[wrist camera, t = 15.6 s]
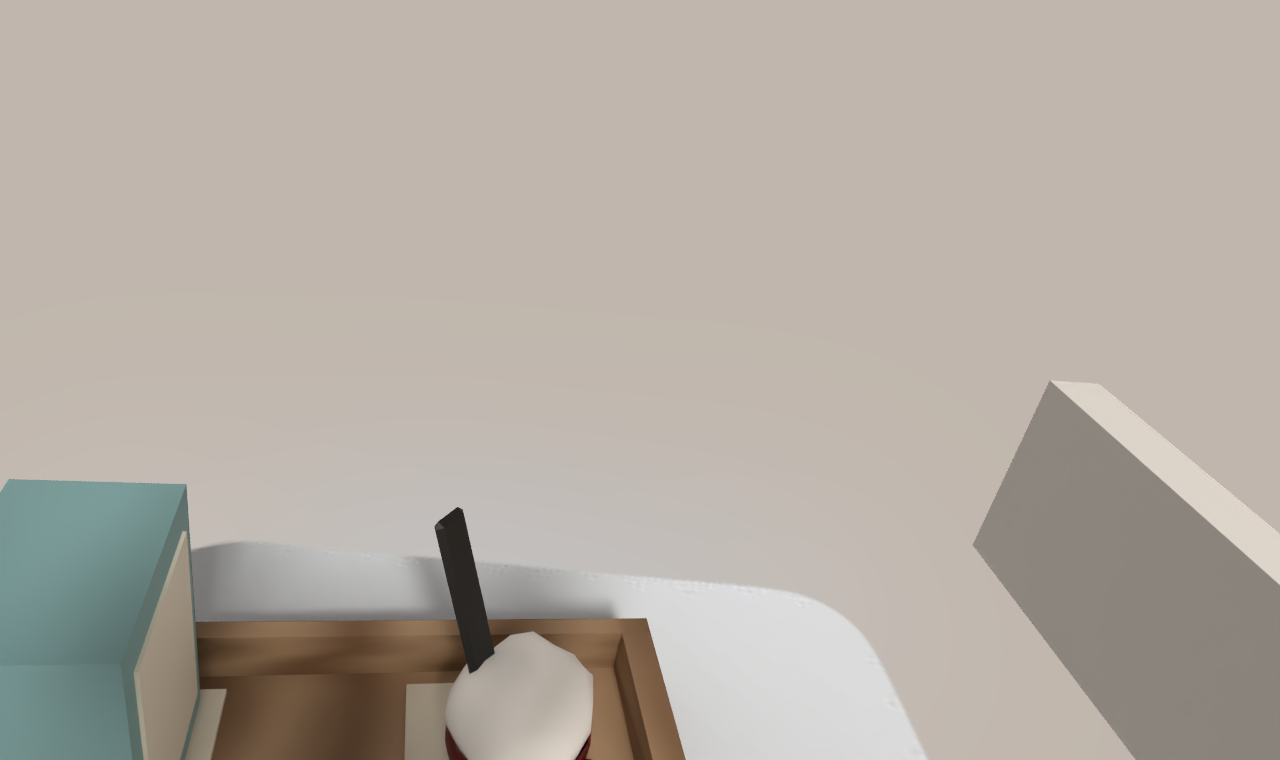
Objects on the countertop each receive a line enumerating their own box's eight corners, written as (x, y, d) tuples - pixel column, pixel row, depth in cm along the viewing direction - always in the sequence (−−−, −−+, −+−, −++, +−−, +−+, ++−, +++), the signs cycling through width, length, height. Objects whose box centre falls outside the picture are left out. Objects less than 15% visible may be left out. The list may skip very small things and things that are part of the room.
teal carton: (-40, 910, 32) (-113, 668, 26) (49, 702, 39) (8, 479, 34) (153, 894, 33) (126, 663, 28) (204, 697, 41) (190, 484, 35)
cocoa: (618, 817, 40) (691, 623, 34) (498, 892, 36) (558, 686, 30) (502, 667, 46) (548, 478, 40) (387, 717, 42) (420, 515, 36)
